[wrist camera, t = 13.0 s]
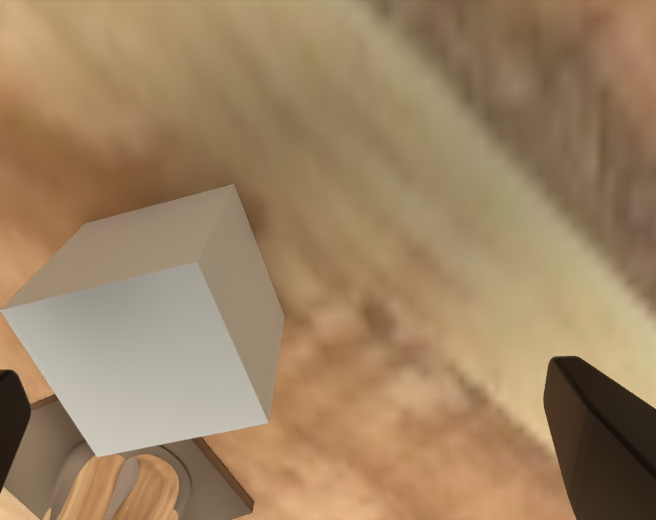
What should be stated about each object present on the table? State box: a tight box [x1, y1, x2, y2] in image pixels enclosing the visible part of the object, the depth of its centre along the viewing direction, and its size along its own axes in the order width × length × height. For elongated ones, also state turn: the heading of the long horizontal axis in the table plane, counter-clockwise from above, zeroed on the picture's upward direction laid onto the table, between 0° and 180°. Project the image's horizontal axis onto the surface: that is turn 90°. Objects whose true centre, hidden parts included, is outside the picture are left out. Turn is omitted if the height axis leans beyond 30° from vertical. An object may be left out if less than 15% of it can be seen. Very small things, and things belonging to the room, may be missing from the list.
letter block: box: [0, 184, 285, 457], centre depth 19 cm, size 6×6×6 cm
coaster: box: [4, 395, 254, 520], centre depth 27 cm, size 10×10×1 cm
